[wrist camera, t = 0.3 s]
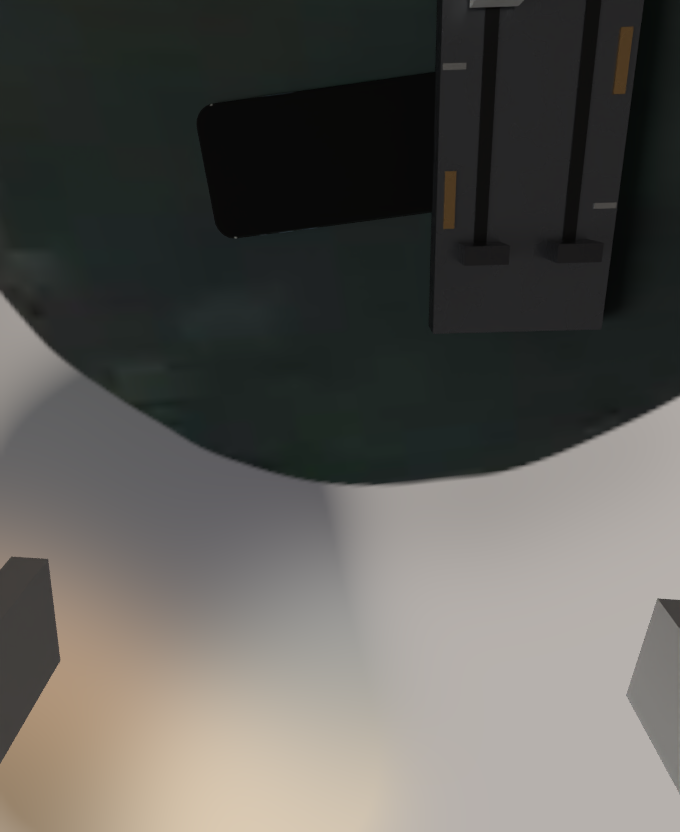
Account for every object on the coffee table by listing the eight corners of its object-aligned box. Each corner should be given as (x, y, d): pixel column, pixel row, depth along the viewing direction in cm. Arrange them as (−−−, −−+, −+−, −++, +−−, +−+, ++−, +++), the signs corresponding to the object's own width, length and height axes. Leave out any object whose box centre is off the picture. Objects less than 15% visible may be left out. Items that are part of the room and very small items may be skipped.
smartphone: (471, 208, 36) (218, 241, 36) (468, 207, 36) (220, 240, 37) (464, 66, 33) (192, 105, 34) (462, 68, 34) (195, 106, 34)
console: (444, -271, 28) (459, -339, 25) (662, -279, 28) (710, -349, 24) (428, 326, 38) (437, 342, 35) (588, 322, 38) (615, 337, 35)
